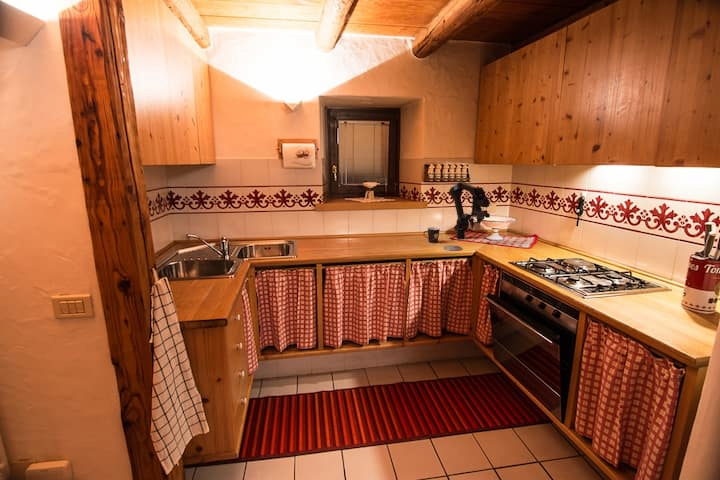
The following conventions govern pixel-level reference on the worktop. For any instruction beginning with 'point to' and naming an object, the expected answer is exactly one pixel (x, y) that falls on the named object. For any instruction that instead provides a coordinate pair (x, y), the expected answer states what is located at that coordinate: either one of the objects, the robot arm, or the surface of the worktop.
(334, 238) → the worktop surface
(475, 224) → the block
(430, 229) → the coffee mug
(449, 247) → the coaster
